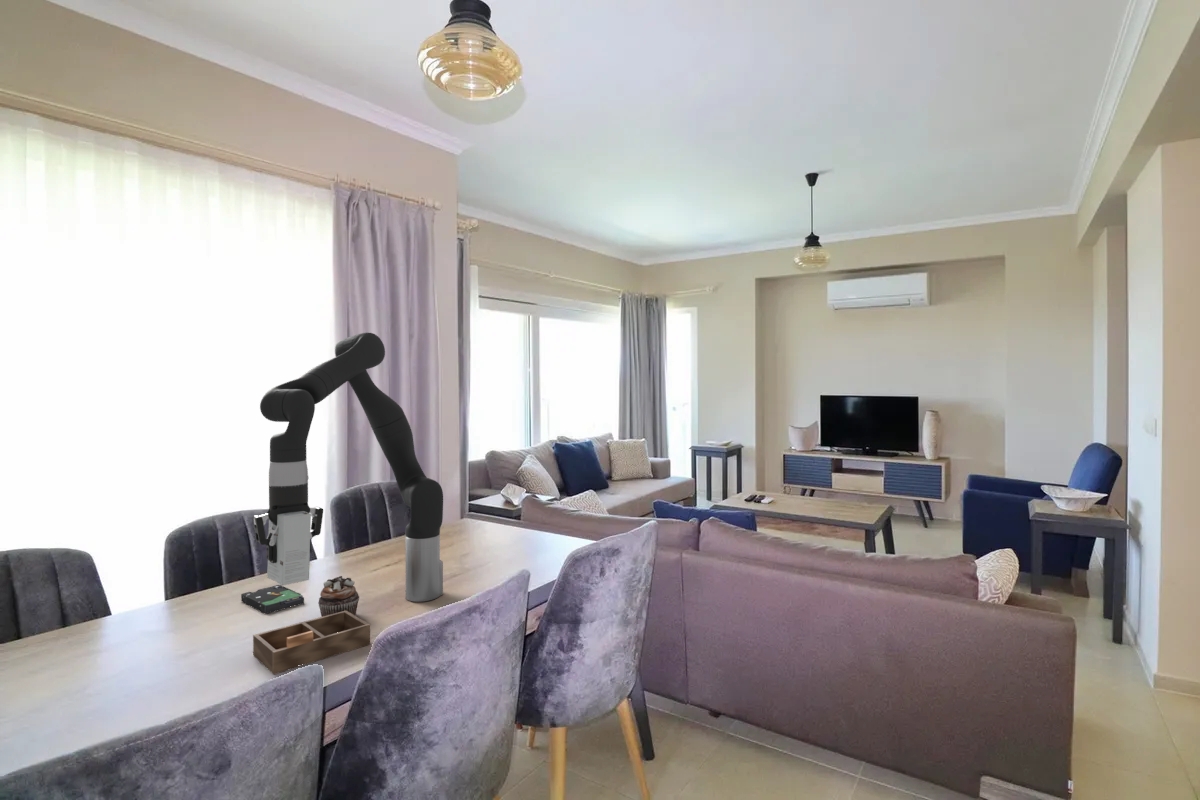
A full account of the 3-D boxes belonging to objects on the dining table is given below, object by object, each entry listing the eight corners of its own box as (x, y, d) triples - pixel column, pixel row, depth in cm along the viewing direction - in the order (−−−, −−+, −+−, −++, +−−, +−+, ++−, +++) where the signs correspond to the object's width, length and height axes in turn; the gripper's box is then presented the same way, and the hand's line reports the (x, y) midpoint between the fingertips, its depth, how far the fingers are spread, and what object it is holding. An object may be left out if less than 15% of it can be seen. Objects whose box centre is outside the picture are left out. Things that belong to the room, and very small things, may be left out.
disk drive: (240, 604, 166) (265, 616, 157) (240, 593, 166) (265, 605, 157) (279, 593, 175) (305, 604, 166) (279, 584, 175) (305, 594, 166)
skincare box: (266, 578, 133) (265, 510, 133) (295, 572, 138) (294, 506, 137) (283, 586, 128) (282, 515, 127) (312, 579, 132) (311, 511, 132)
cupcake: (309, 622, 152) (309, 582, 152) (339, 609, 161) (338, 571, 161) (339, 627, 149) (338, 587, 149) (367, 614, 158) (367, 575, 158)
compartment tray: (346, 628, 148) (346, 602, 148) (370, 644, 139) (370, 615, 139) (253, 655, 133) (253, 625, 133) (273, 674, 125) (273, 642, 124)
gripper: (315, 476, 140) (316, 549, 140) (246, 483, 129) (246, 562, 130) (329, 480, 135) (330, 556, 135) (257, 487, 124) (258, 570, 125)
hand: (289, 558), depth 132 cm, fingers closed on skincare box, 6 cm apart
